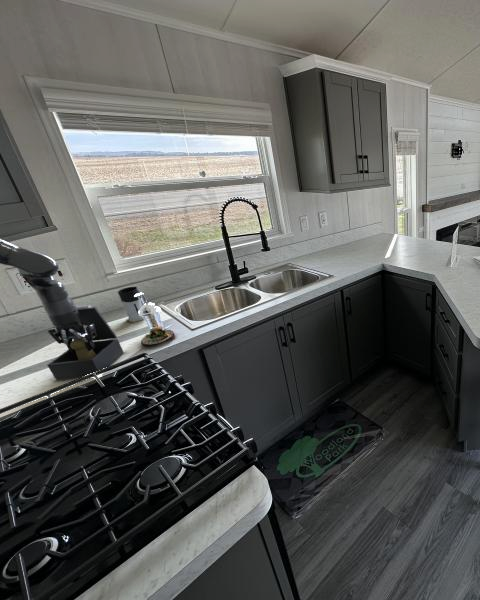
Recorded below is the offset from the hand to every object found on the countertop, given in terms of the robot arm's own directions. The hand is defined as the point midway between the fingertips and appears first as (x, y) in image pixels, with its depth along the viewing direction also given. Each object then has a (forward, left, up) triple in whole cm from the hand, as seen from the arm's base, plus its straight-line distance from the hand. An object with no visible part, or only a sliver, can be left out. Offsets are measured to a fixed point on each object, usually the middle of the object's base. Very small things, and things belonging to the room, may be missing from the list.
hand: (83, 350), depth 123 cm
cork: (0, 0, -7) cm, 7 cm away
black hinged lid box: (0, 0, -7) cm, 7 cm away
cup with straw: (+24, -12, -7) cm, 28 cm away
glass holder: (+40, +2, -7) cm, 41 cm away
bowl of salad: (+15, -17, -7) cm, 24 cm away
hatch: (+5, 0, +7) cm, 9 cm away
